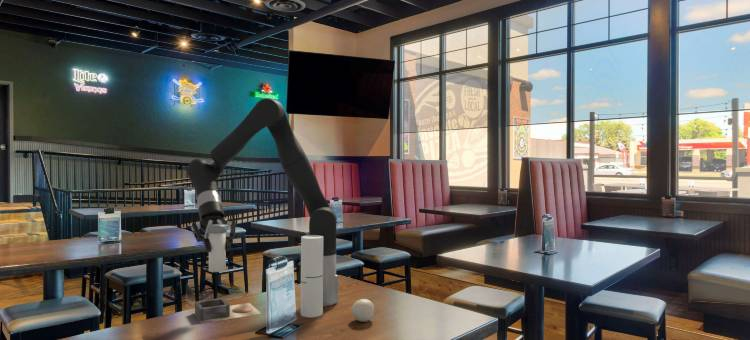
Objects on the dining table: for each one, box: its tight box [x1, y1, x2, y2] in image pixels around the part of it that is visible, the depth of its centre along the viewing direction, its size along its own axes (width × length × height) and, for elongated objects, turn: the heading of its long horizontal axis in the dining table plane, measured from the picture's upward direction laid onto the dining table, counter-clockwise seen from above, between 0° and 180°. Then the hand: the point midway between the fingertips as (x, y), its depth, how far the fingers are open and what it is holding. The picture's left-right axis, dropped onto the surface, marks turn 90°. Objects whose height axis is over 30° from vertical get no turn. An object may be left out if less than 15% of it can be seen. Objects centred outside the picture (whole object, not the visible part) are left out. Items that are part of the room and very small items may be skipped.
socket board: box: [192, 297, 262, 325], centre depth 145 cm, size 18×13×5 cm
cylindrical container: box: [300, 234, 324, 318], centre depth 149 cm, size 7×7×25 cm
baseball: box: [350, 298, 375, 323], centre depth 143 cm, size 7×7×7 cm
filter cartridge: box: [208, 224, 227, 273], centre depth 143 cm, size 5×5×14 cm
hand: (218, 249), depth 142 cm, fingers closed on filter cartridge, 5 cm apart
